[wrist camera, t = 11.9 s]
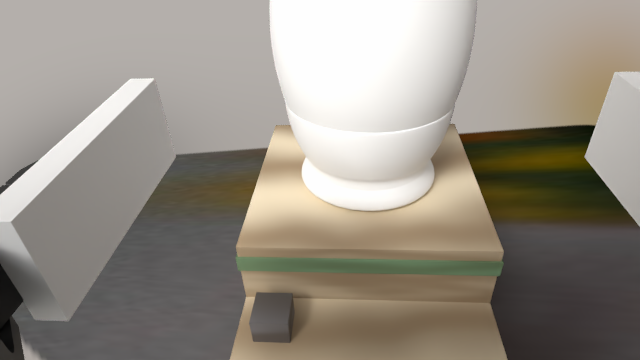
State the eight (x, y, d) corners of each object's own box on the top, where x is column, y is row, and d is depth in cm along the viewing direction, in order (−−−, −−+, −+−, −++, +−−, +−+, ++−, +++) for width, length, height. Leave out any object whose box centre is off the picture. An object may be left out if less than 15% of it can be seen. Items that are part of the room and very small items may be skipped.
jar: (449, 141, 32) (484, -106, 23) (452, 236, 23) (509, -93, 15) (307, 131, 34) (292, -98, 25) (264, 215, 26) (220, -83, 17)
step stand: (498, 439, 23) (539, 335, 18) (238, 426, 25) (208, 325, 19) (442, 213, 39) (455, 123, 34) (285, 211, 40) (274, 124, 35)
